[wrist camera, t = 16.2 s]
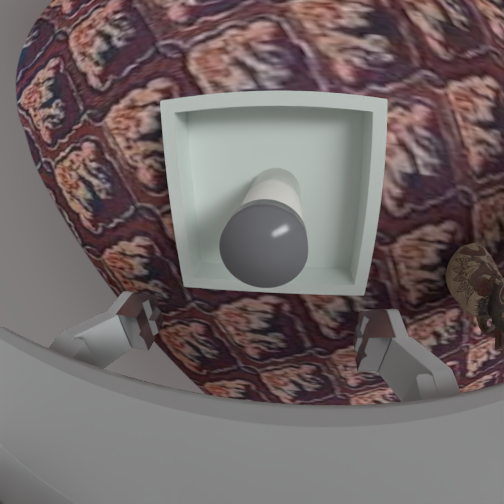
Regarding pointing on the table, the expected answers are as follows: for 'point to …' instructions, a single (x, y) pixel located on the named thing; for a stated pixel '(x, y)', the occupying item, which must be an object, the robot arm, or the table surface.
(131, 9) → the table surface
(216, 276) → the tray
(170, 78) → the table surface
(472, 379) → the table surface
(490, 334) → the figurine
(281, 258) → the shaker
